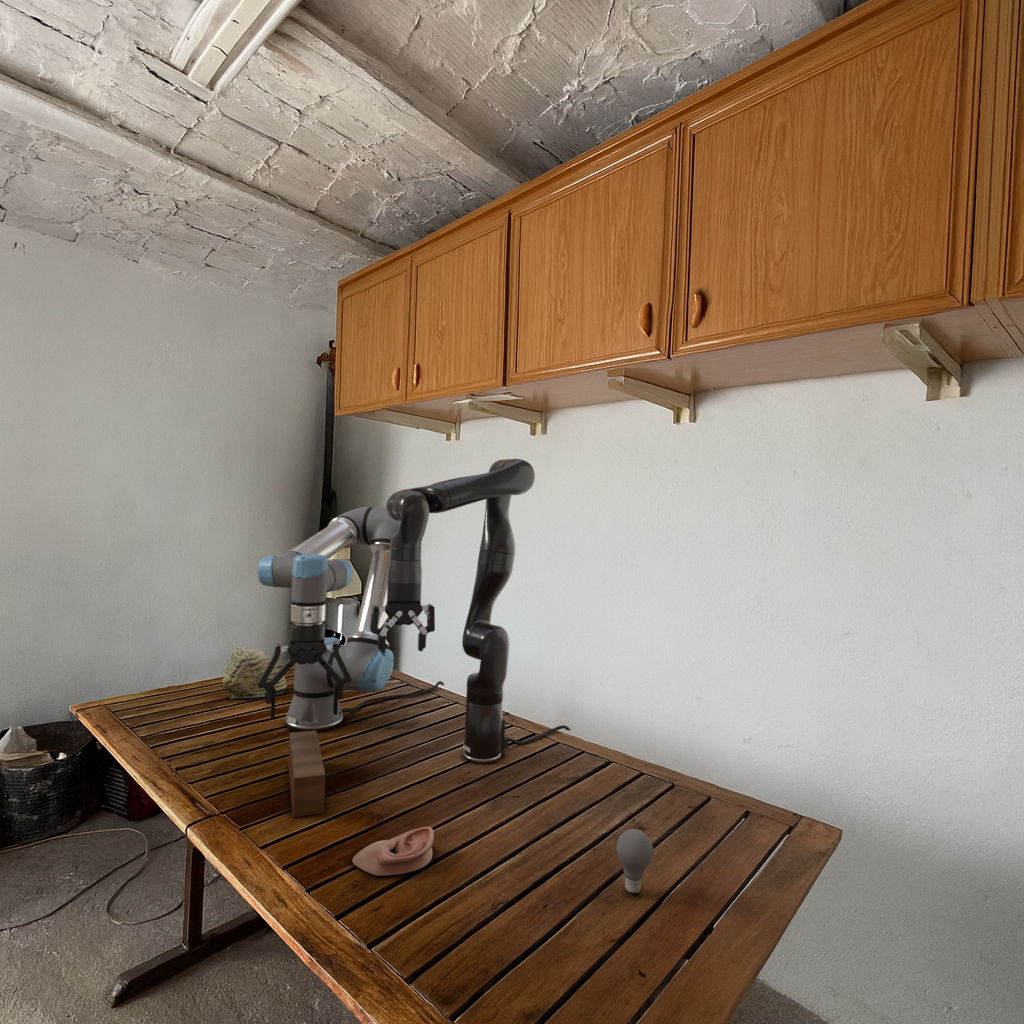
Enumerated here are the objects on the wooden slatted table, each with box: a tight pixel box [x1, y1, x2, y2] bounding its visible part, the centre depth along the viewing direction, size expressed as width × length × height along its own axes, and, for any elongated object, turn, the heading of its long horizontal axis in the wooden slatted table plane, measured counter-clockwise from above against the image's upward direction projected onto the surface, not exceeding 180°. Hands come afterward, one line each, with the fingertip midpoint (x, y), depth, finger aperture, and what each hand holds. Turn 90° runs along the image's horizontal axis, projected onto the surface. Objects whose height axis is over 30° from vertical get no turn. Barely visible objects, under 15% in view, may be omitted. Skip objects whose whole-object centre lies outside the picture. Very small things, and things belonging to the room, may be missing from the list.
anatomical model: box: [351, 826, 435, 877], centre depth 112 cm, size 13×4×12 cm
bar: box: [288, 731, 326, 818], centre depth 138 cm, size 25×6×8 cm, turn 21°
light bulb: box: [615, 828, 654, 894], centre depth 106 cm, size 6×6×10 cm
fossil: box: [222, 646, 288, 699], centre depth 198 cm, size 9×18×15 cm, turn 132°
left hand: (304, 715), depth 145 cm, fingers open, 13 cm apart
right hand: (401, 651), depth 143 cm, fingers open, 8 cm apart
